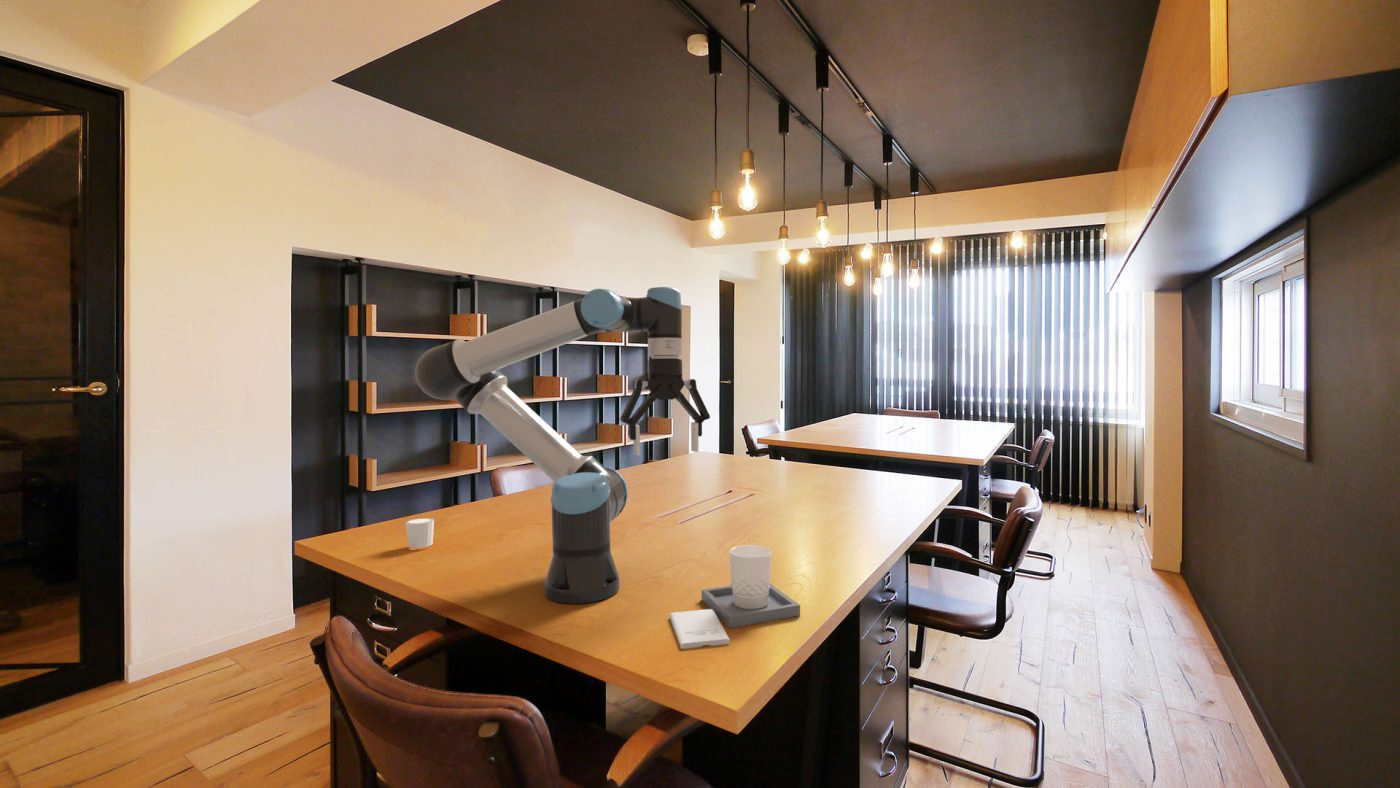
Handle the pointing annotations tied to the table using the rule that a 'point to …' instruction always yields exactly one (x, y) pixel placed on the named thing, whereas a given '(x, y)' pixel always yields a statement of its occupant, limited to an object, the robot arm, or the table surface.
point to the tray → (736, 616)
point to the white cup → (750, 576)
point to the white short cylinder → (420, 532)
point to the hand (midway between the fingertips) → (666, 453)
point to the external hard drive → (698, 629)
